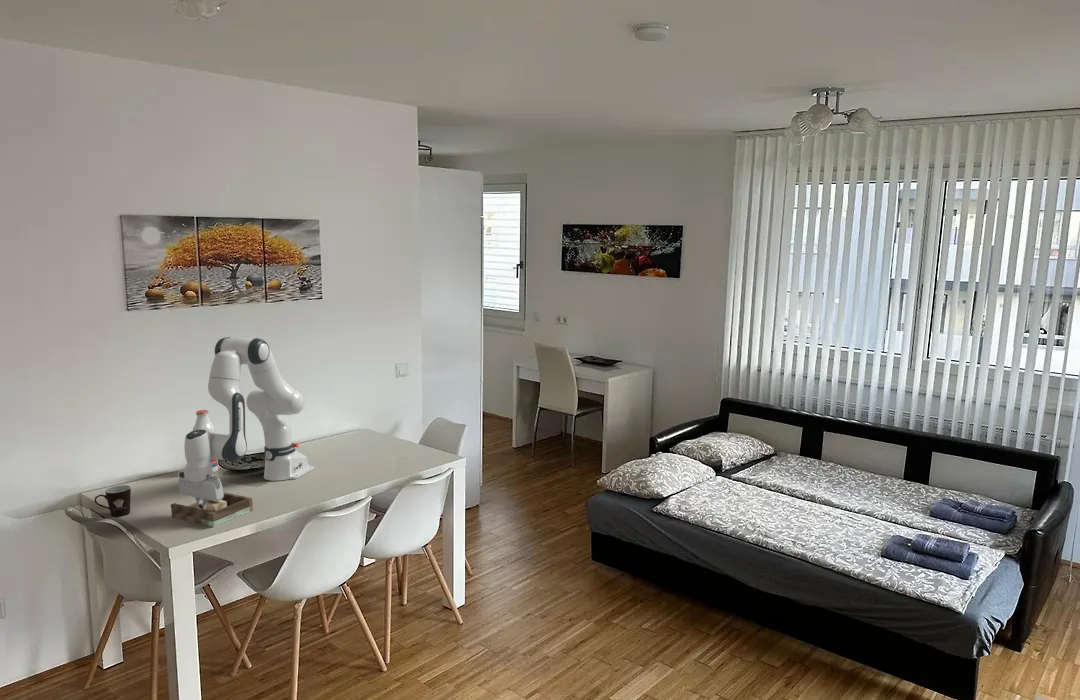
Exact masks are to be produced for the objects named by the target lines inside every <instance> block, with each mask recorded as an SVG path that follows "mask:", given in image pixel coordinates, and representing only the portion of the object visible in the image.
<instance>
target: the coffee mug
mask: <svg viewBox="0 0 1080 700" xmlns="http://www.w3.org/2000/svg"><path fill="white" fill-rule="evenodd" d="M104 493H105V494H98V495H96V496H95V497H94V502H95V504H96V505H98V506H99V507H101V508H104V509H108V510H109V512H110V515H111V517H113V518H121V517H124V516H127V515H129V514H131V499H132V498H131V494H132V487H131V486H130V485H127V484H123V485H114V486H111V487H109V488H106V489H105V490H104ZM99 497H103V498H105V500H107V505H108V506H105V505H103V504H100V503H98V501H97V499H98V498H99Z"/></svg>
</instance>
